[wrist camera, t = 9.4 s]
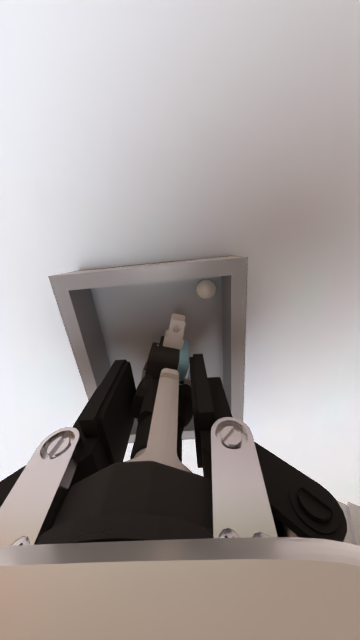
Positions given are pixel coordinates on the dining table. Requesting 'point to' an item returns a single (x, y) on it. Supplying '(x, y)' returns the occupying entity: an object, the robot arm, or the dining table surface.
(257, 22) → the dining table surface
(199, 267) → the junction box
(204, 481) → the push button
